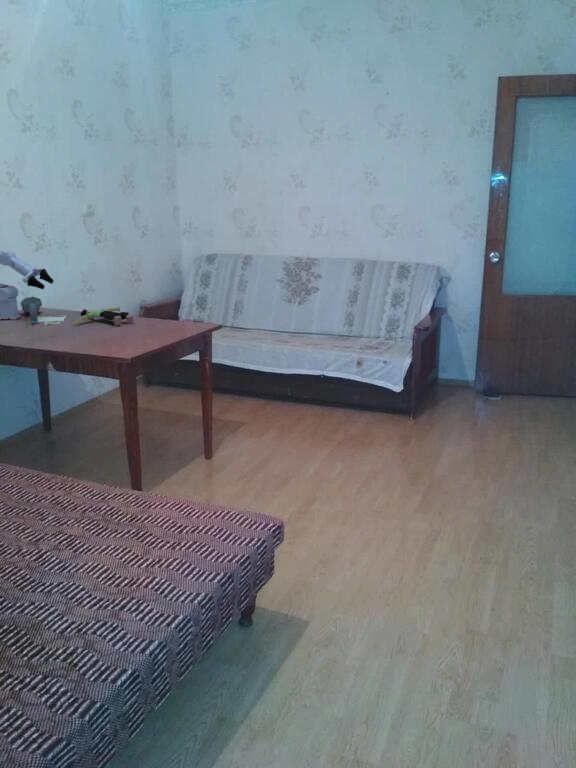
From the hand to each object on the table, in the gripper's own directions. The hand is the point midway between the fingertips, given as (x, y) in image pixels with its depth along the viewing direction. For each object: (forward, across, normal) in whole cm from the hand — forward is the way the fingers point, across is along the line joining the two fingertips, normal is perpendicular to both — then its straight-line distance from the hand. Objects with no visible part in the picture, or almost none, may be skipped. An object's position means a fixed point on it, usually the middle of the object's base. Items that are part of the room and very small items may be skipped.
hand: (48, 284), depth 302 cm
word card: (+13, -12, +9) cm, 20 cm away
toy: (+33, -2, 0) cm, 33 cm away
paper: (+8, -4, +14) cm, 17 cm away
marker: (+6, -15, +13) cm, 21 cm away
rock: (-4, +6, +26) cm, 27 cm away
